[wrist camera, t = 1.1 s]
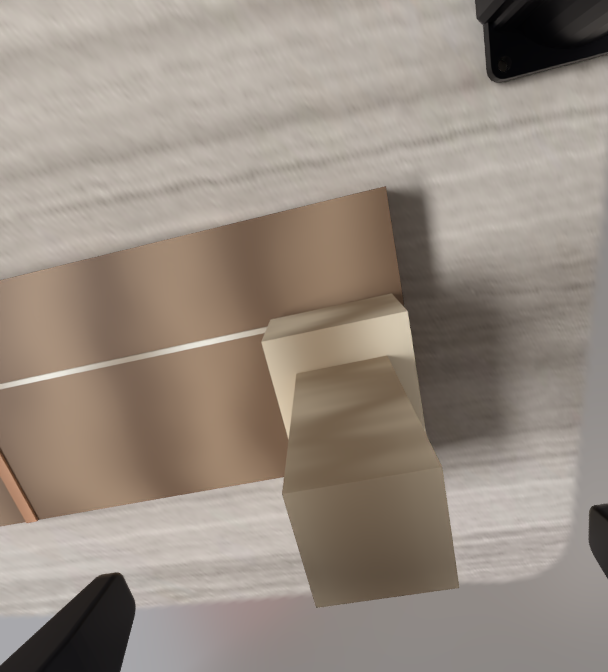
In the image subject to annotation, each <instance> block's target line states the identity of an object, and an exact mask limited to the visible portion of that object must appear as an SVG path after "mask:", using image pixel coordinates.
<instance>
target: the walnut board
mask: <svg viewBox="0 0 608 672" xmlns="http://www.w3.org/2000/svg"><path fill="white" fill-rule="evenodd" d="M391 293H392V294H393V296H394V297H395V298H396V299H397V300H398V301H399V302H400V303H401V304H402V305H403V307H404V301H403V295H402V288H401V282H400V275H399V269H398V262H397V256H396V249H395V243H394V236H393V230H392V224H391V217H390V211H389V204H388V198H387V191H386V186H385V187H381V188H377V189H373V190H369V191H364V192H360V193H356V194H352V195H348V196H344V197H340V198H336V199H332V200H327V201H323V202H319V203H315V204H311V205H307V206H303V207H299V208H295V209H291V210H286V211H282V212H278V213H274V214H270V215H266V216H262V217H258V218H254V219H250V220H245V221H241V222H237V223H233V224H229V225H225V226H221V227H217V228H213V229H209V230H204V231H200V232H196V233H192V234H188V235H184V236H180V237H176V238H172V239H167V240H163V241H159V242H155V243H151V244H147V245H143V246H139V247H135V248H131V249H126V250H122V251H118V252H114V253H110V254H106V255H102V256H98V257H94V258H90V259H85V260H81V261H77V262H73V263H69V264H65V265H61V266H57V267H53V268H49V269H44V270H40V271H36V272H32V273H28V274H24V275H20V276H16V277H12V278H8V279H3V280H0V526H5V525H11V524H17V523H23V522H26V523H30V522H35V521H38V520H40V519H46V518H51V517H57V516H63V515H68V514H74V513H80V512H86V511H91V510H97V509H103V508H109V507H114V506H120V505H126V504H131V503H137V502H143V501H149V500H154V499H160V498H166V497H172V496H177V495H183V494H189V493H194V492H200V491H206V490H212V489H217V488H223V487H229V486H234V485H240V484H246V483H252V482H257V481H263V480H269V479H275V478H280V477H284V474H285V466H286V457H287V449H288V440H289V439H288V436H287V432H286V429H285V425H284V422H283V418H282V414H281V411H280V407H279V404H278V400H277V397H276V393H275V389H274V386H273V382H272V379H271V375H270V371H269V368H268V364H267V361H266V357H265V354H264V350H263V346H262V343H261V341H262V339H263V337H264V334H265V332H266V329H267V327H268V324H269V322H270V320H271V319H276V318H280V317H285V316H290V315H294V314H299V313H304V312H308V311H313V310H317V309H322V308H327V307H331V306H336V305H341V304H345V303H350V302H354V301H359V300H364V299H368V298H373V297H378V296H382V295H387V294H391Z"/></svg>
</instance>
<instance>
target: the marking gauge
mask: <svg viewBox="0 0 608 672" xmlns="http://www.w3.org/2000/svg"><path fill="white" fill-rule="evenodd" d="M261 343H262V346H263V350H264V354H265V357H266V361H267V364H268V368H269V371H270V375H271V379H272V382H273V386H274V389H275V393H276V397H277V400H278V404H279V407H280V411H281V414H282V418H283V422H284V425H285V429H286V432H287V436H288V439H289V440H288V449H287V457H286V466H285V474H284V483H283V491H282V495H283V499H284V502H285V505H286V509H287V512H288V515H289V519H290V522H291V525H292V529H293V532H294V535H295V539H296V542H297V545H298V549H299V552H300V555H301V559H302V562H303V565H304V569H305V572H306V575H307V579H308V582H309V585H310V589H311V592H312V595H313V599H314V602H315V605H316V608H318V607H326V606H333V605H340V604H347V603H354V602H361V601H369V600H375V599H382V598H389V597H397V596H404V595H412V594H419V593H426V592H433V591H440V590H448V589H455V588H459V582H458V575H457V568H456V561H455V554H454V547H453V540H452V533H451V526H450V519H449V512H448V505H447V498H446V491H445V484H444V476H443V469H442V466H441V464H440V462H439V460H438V458H437V455H436V453H435V451H434V449H433V447H432V445H431V443H430V441H429V439H428V437H427V435H426V429H425V422H424V415H423V409H422V402H421V396H420V389H419V382H418V376H417V369H416V363H415V356H414V350H413V343H412V336H411V330H410V323H409V317H408V311H407V310H406V309H405V308H404V307H403V305H402V304H401V303H400V302H399V301H398V300H397V299H396V298H395V297H394V296H393V294H392V293H391V294H387V295H382V296H378V297H373V298H368V299H364V300H359V301H354V302H350V303H345V304H341V305H336V306H331V307H327V308H322V309H317V310H313V311H308V312H304V313H299V314H294V315H290V316H285V317H280V318H276V319H271V320H270V322H269V324H268V327H267V329H266V332H265V334H264V337H263V339H262V341H261Z"/></svg>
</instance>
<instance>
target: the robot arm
mask: <svg viewBox="0 0 608 672" xmlns="http://www.w3.org/2000/svg"><path fill="white" fill-rule="evenodd" d="M475 4H476V17H477V19H478V20H479V22H480V23H481V24H483V29H484V42H485V56H486V70H487V75H488V77H489V78H490V80H491V81H494V82H504V81H507V80H511V79H515V78H519V77H523V76H527V75H530V74H534V73H538V72H542V71H546V70H549V69H553V68H557V67H561V66H565V65H568V64H572V63H576V62H580V61H584V60H587V59H591V58H595V57H599V56H603V55H607V54H608V0H475ZM499 60H504V61H505V62H506V65H507V68H506V71H505V72H501V71H500V70H499V68H498V61H499ZM589 545H590V548H591V551H592V553H593V555H594V557H595V558H596V560H597V562H598V563H599V565H600V567H601V568H602V570H603V572H604V573H605V575H606V577H607V578H608V504H601V505H594V506H592V507H591V508H590V511H589ZM134 616H135V600H134V598H133V596H132V593H131V591H130V589H129V587H128V585H127V583H126V581H125V579H124V577H123V575H122V574H120V573H117V572H116V573H109V574H102V575H100V576H98V577H96V578H95V579H94V580H93V581H92V582H91V583H90V584H89V585H87V586H86V587H85V588H84V589H83V590H82V591H81V592H80V593H79V594H78V595H77V596H75V597H74V598H73V599H72V600H71V601H70V602H69V603H68V604H67V605H66V606H65V607H63V608H62V609H61V610H60V611H59V612H58V613H57V614H56V615H55V616H54V617H53V618H51V619H50V620H49V621H48V622H47V623H46V624H45V625H44V626H43V627H42V628H41V629H40V630H38V631H37V632H36V633H35V634H34V635H33V636H32V637H31V638H30V639H29V640H28V641H26V642H25V644H23V645H22V646H21V647H20V648H19V649H18V650H17V651H16V652H14V653H13V654H12V655H11V656H10V657H9V658H8V659H7V660H6V661H5V662H4V663H2V665H0V672H120V671H121V667H122V663H123V659H124V655H125V651H126V647H127V643H128V639H129V635H130V632H131V628H132V624H133V620H134Z"/></svg>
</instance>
